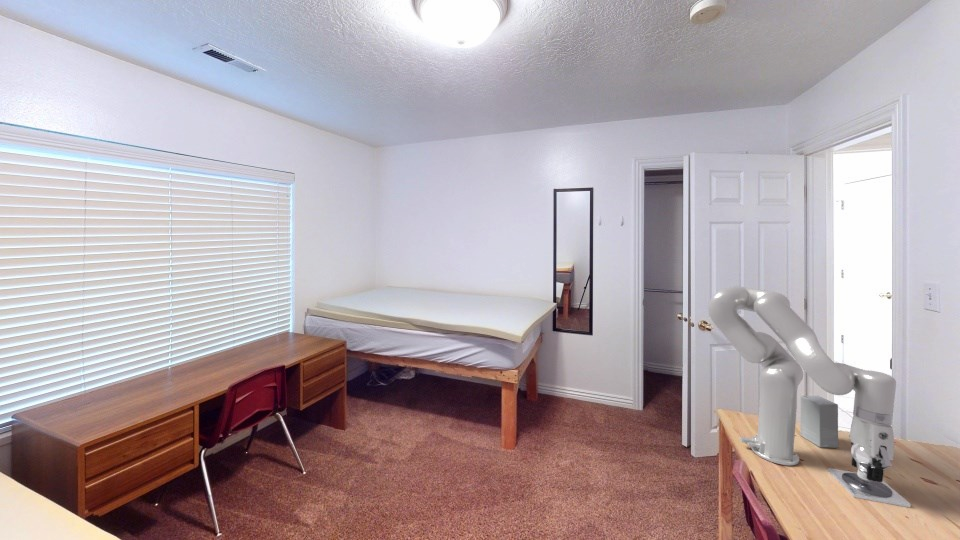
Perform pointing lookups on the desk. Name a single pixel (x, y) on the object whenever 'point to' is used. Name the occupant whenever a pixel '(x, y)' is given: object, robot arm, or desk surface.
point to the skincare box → (819, 421)
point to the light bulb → (862, 461)
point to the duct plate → (868, 488)
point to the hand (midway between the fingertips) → (866, 472)
